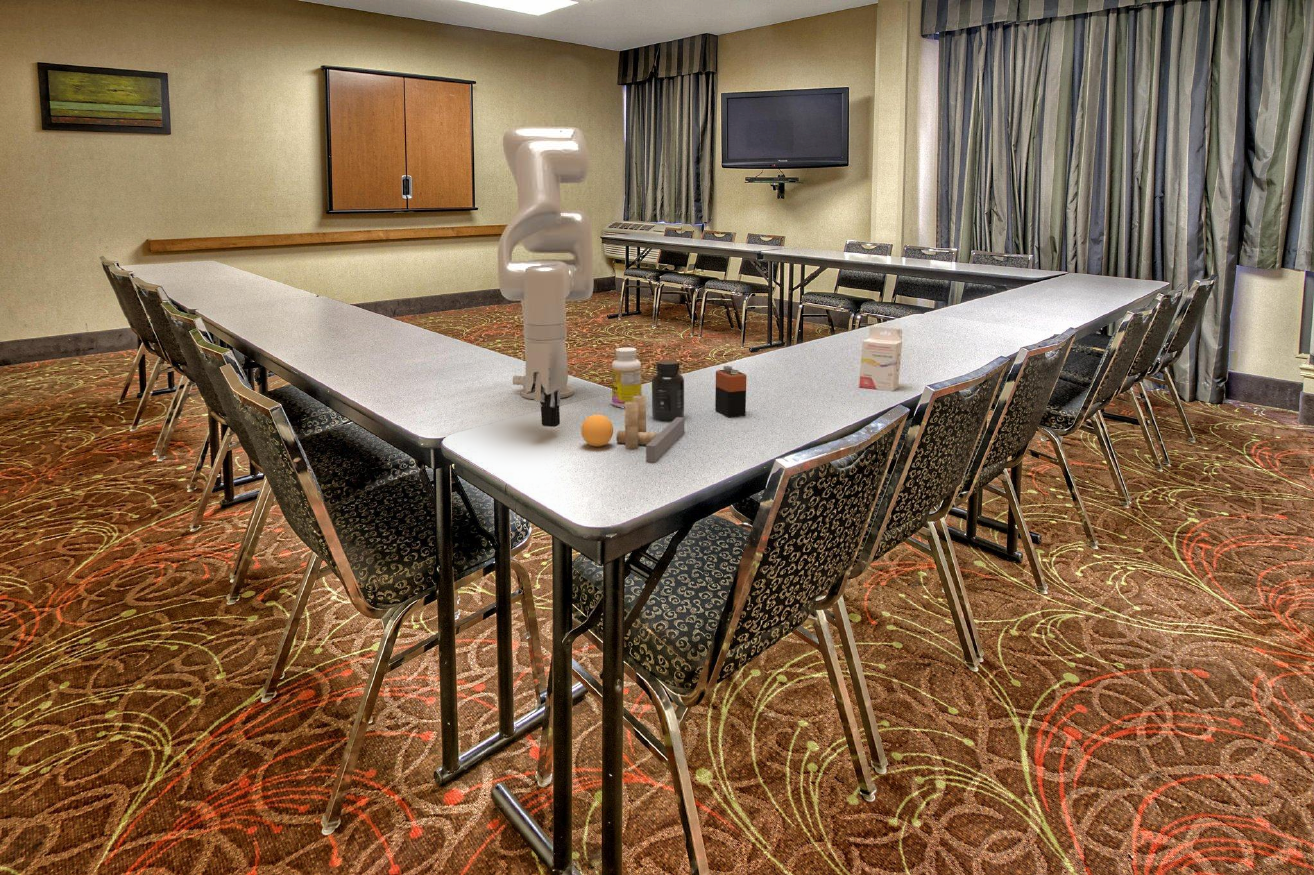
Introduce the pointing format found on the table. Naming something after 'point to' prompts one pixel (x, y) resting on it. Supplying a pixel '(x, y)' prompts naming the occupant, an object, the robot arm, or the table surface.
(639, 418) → the pin
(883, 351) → the ink cartridge box
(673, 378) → the supplement bottle
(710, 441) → the table surface
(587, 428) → the ball
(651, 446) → the back wall
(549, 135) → the robot arm
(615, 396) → the supplement bottle
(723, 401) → the battery
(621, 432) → the wooden block
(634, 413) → the pin
